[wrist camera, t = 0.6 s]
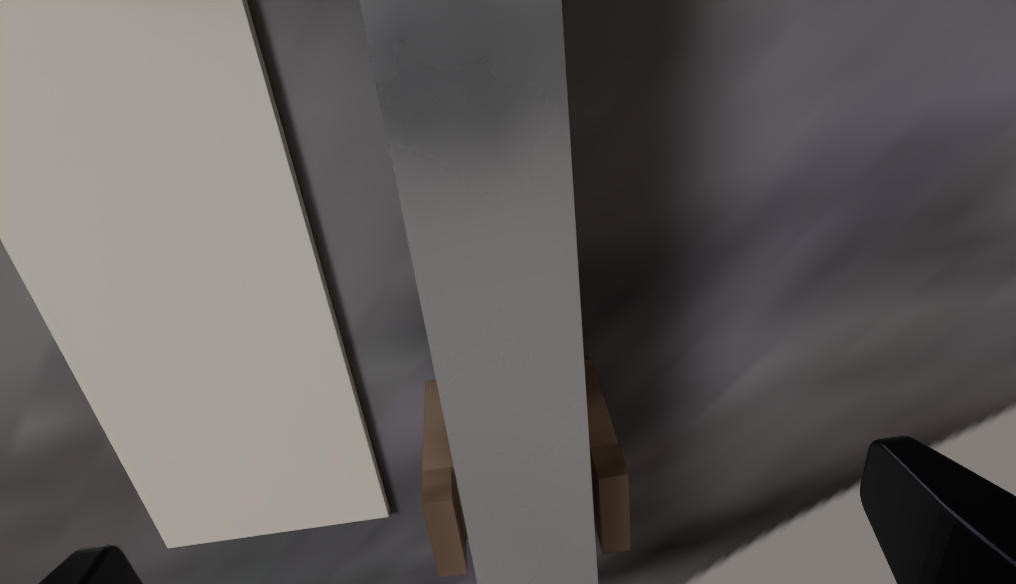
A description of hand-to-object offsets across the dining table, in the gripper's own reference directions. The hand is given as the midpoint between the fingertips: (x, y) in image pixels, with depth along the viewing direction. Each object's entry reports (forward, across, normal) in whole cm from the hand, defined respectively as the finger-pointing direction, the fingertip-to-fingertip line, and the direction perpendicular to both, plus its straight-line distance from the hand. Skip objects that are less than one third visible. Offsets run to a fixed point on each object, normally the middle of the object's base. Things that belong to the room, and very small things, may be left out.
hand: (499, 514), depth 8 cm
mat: (+12, +9, +1) cm, 15 cm away
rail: (+8, 0, +1) cm, 8 cm away
